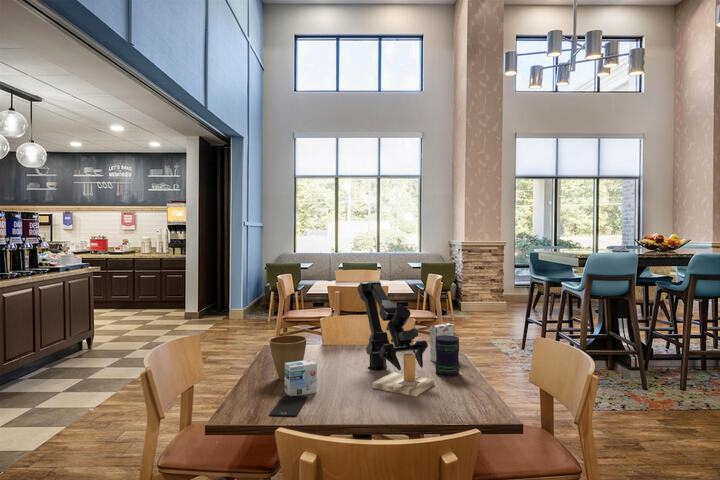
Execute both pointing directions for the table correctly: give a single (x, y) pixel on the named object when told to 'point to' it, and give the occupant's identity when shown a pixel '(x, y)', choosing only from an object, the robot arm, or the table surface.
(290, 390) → the light bulb box
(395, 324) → the robot arm
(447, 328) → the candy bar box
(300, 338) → the plant pot
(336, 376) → the table surface
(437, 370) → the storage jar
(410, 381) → the orange rounded cylinder
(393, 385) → the subfloor panel
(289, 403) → the cell phone
